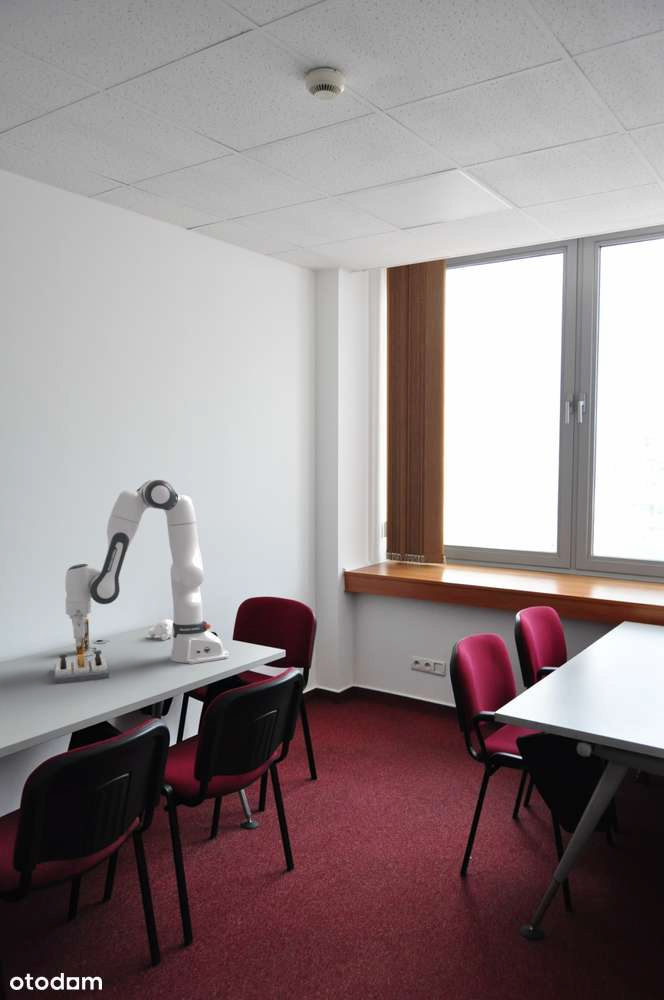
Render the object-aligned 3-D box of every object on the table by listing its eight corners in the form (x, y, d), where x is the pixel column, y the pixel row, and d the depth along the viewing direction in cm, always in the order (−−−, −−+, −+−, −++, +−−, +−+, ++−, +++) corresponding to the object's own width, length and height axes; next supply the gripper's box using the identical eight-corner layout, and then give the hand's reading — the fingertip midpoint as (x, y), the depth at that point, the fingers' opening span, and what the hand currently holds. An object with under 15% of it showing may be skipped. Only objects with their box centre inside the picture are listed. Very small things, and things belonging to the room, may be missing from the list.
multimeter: (98, 657, 290) (96, 606, 289) (72, 657, 291) (71, 607, 290) (110, 647, 305) (108, 599, 304) (86, 648, 305) (84, 600, 304)
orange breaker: (84, 667, 267) (84, 655, 267) (77, 668, 266) (77, 656, 266) (84, 666, 269) (84, 654, 269) (77, 667, 268) (77, 654, 268)
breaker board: (108, 678, 262) (108, 667, 262) (54, 684, 256) (54, 672, 255) (105, 664, 280) (105, 654, 279) (54, 669, 273) (54, 659, 273)
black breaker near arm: (101, 663, 272) (101, 651, 272) (94, 664, 272) (94, 652, 271) (101, 662, 274) (100, 650, 274) (94, 663, 273) (94, 650, 273)
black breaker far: (66, 667, 268) (66, 654, 268) (59, 668, 267) (59, 655, 267) (66, 665, 270) (66, 653, 270) (59, 666, 269) (59, 654, 269)
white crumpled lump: (167, 620, 315) (143, 621, 319) (169, 640, 315) (145, 641, 319) (175, 617, 321) (152, 618, 325) (177, 637, 321) (154, 637, 325)
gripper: (88, 613, 263) (88, 651, 264) (86, 603, 282) (86, 638, 283) (69, 614, 261) (70, 653, 262) (68, 604, 280) (69, 640, 281)
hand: (78, 645), depth 273 cm, fingers closed
